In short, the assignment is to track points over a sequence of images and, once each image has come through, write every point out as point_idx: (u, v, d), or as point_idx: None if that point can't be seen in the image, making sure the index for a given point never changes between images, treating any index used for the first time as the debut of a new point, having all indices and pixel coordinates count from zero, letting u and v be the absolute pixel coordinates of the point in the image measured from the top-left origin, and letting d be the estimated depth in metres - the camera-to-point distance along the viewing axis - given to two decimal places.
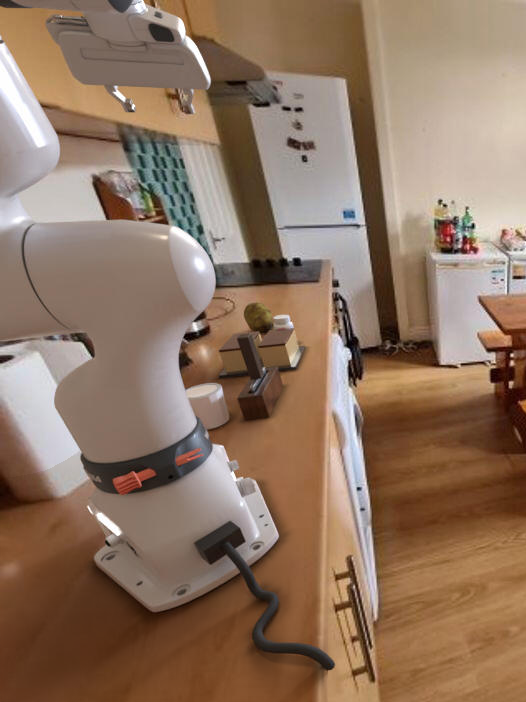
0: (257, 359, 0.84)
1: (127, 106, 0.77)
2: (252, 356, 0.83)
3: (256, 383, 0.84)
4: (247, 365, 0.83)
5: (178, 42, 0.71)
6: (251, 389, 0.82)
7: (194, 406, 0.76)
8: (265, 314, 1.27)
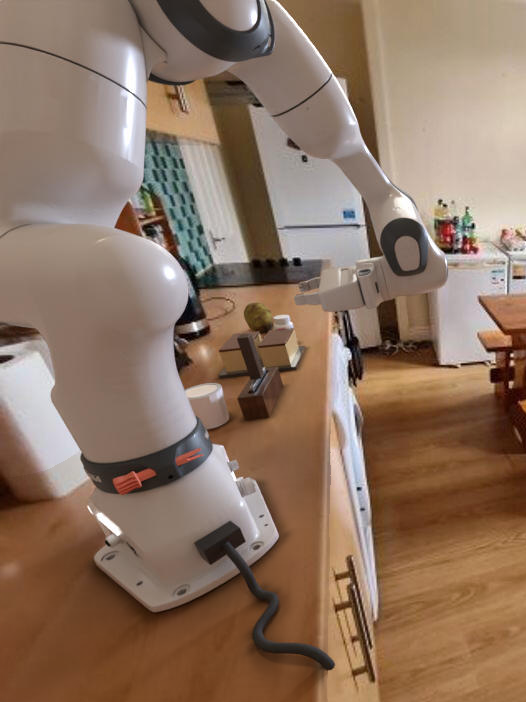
0: (257, 359, 0.84)
1: (304, 282, 0.85)
2: (252, 356, 0.83)
3: (256, 383, 0.84)
4: (247, 365, 0.83)
5: (358, 276, 0.77)
6: (251, 389, 0.82)
7: (194, 406, 0.76)
8: (265, 314, 1.27)
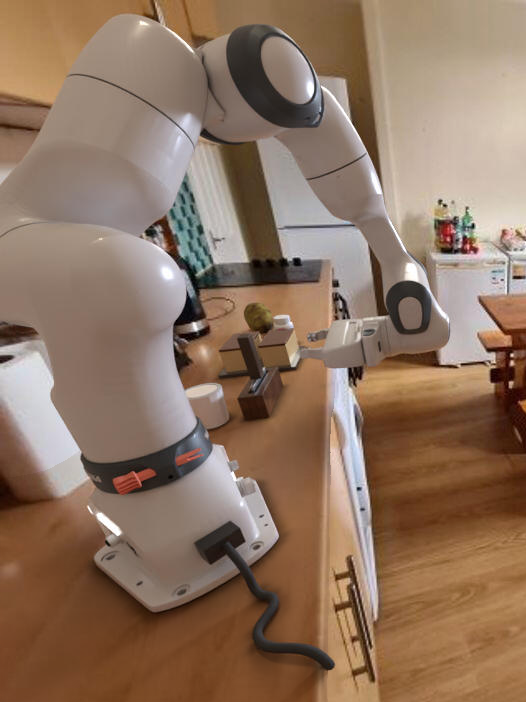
0: (257, 359, 0.84)
1: (312, 333, 0.89)
2: (252, 356, 0.83)
3: (256, 383, 0.84)
4: (247, 365, 0.83)
5: (362, 336, 0.80)
6: (251, 389, 0.82)
7: (194, 406, 0.76)
8: (265, 314, 1.27)
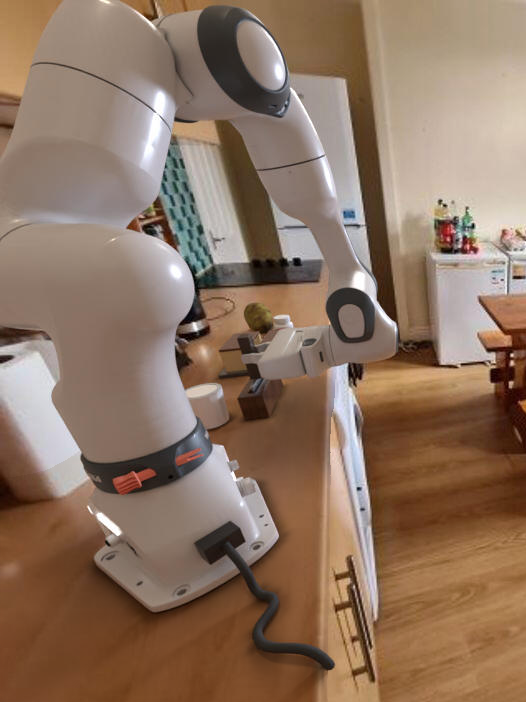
0: None
1: None
2: None
3: (256, 383, 0.84)
4: (247, 365, 0.83)
5: (301, 347, 0.78)
6: (251, 389, 0.82)
7: (194, 406, 0.76)
8: (265, 314, 1.27)
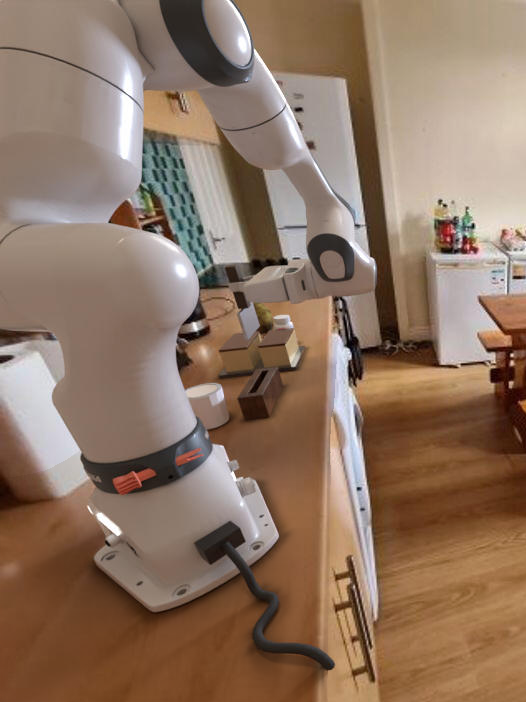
0: None
1: None
2: None
3: (243, 312, 0.90)
4: (235, 294, 0.89)
5: (283, 273, 0.84)
6: (238, 315, 0.88)
7: (194, 406, 0.76)
8: (265, 314, 1.27)
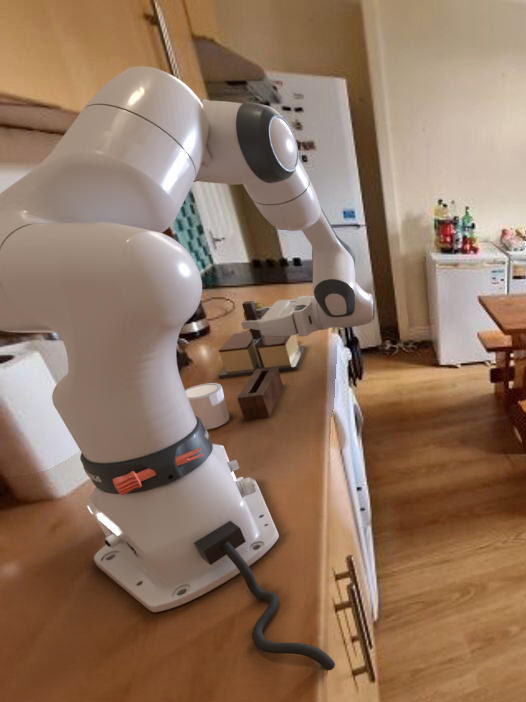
0: None
1: (257, 309, 1.06)
2: (254, 319, 1.02)
3: (257, 342, 1.03)
4: None
5: (293, 310, 0.97)
6: (253, 345, 1.01)
7: (194, 406, 0.76)
8: None
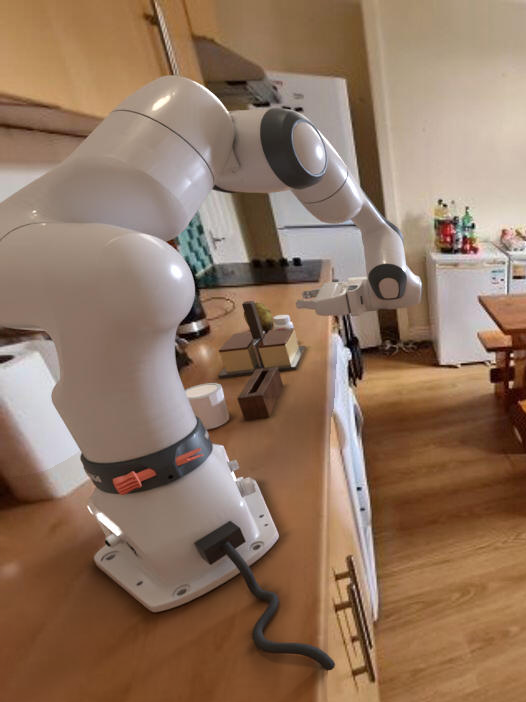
0: (258, 322, 1.03)
1: (306, 291, 1.07)
2: (254, 319, 1.02)
3: (257, 342, 1.03)
4: (250, 327, 1.02)
5: (347, 290, 0.98)
6: (253, 345, 1.01)
7: (194, 406, 0.76)
8: (265, 314, 1.27)
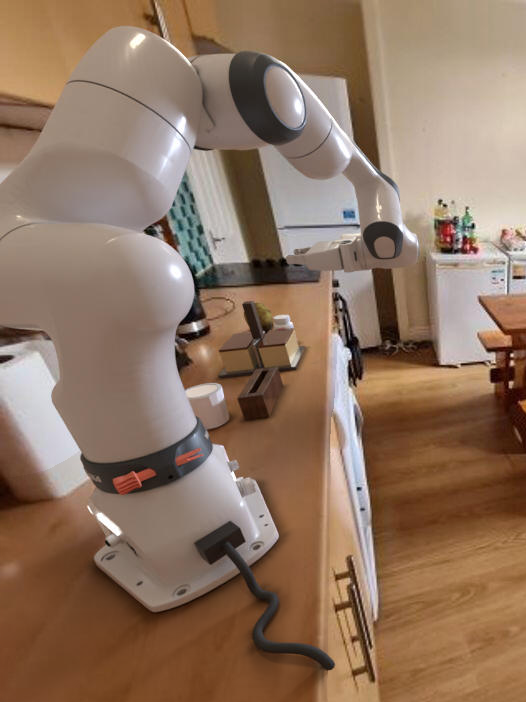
0: (258, 322, 1.03)
1: (298, 249, 1.03)
2: (254, 319, 1.02)
3: (257, 342, 1.03)
4: (250, 327, 1.02)
5: (340, 244, 0.94)
6: (253, 345, 1.01)
7: (194, 406, 0.76)
8: (265, 314, 1.27)
